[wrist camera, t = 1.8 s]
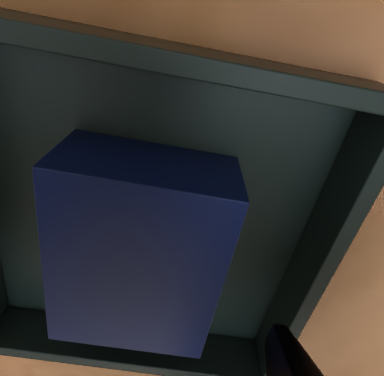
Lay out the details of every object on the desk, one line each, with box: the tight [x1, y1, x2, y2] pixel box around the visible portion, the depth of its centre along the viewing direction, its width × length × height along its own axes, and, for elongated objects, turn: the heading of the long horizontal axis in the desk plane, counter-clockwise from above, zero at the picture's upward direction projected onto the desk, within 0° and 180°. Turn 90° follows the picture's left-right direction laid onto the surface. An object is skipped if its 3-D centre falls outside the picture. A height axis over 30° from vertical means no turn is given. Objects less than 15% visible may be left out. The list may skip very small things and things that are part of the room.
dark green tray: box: [0, 8, 384, 376], centre depth 12 cm, size 14×14×3 cm
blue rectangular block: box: [32, 129, 250, 359], centre depth 11 cm, size 8×6×3 cm
